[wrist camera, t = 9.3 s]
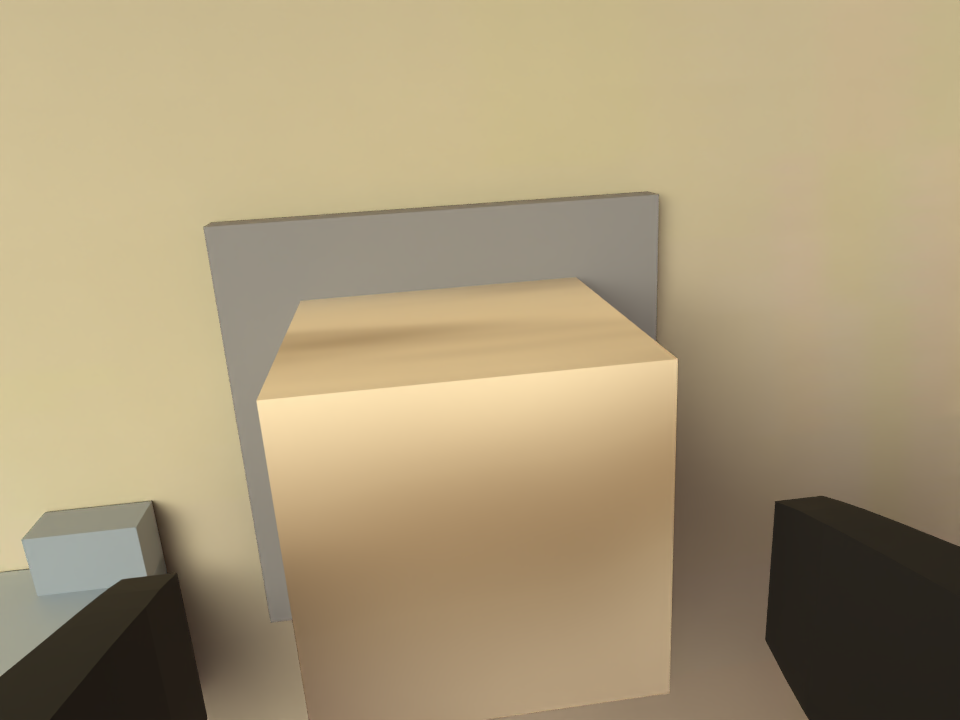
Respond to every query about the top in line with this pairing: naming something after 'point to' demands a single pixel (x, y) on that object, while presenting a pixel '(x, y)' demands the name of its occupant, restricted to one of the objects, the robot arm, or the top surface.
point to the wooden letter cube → (473, 501)
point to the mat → (407, 286)
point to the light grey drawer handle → (73, 569)
